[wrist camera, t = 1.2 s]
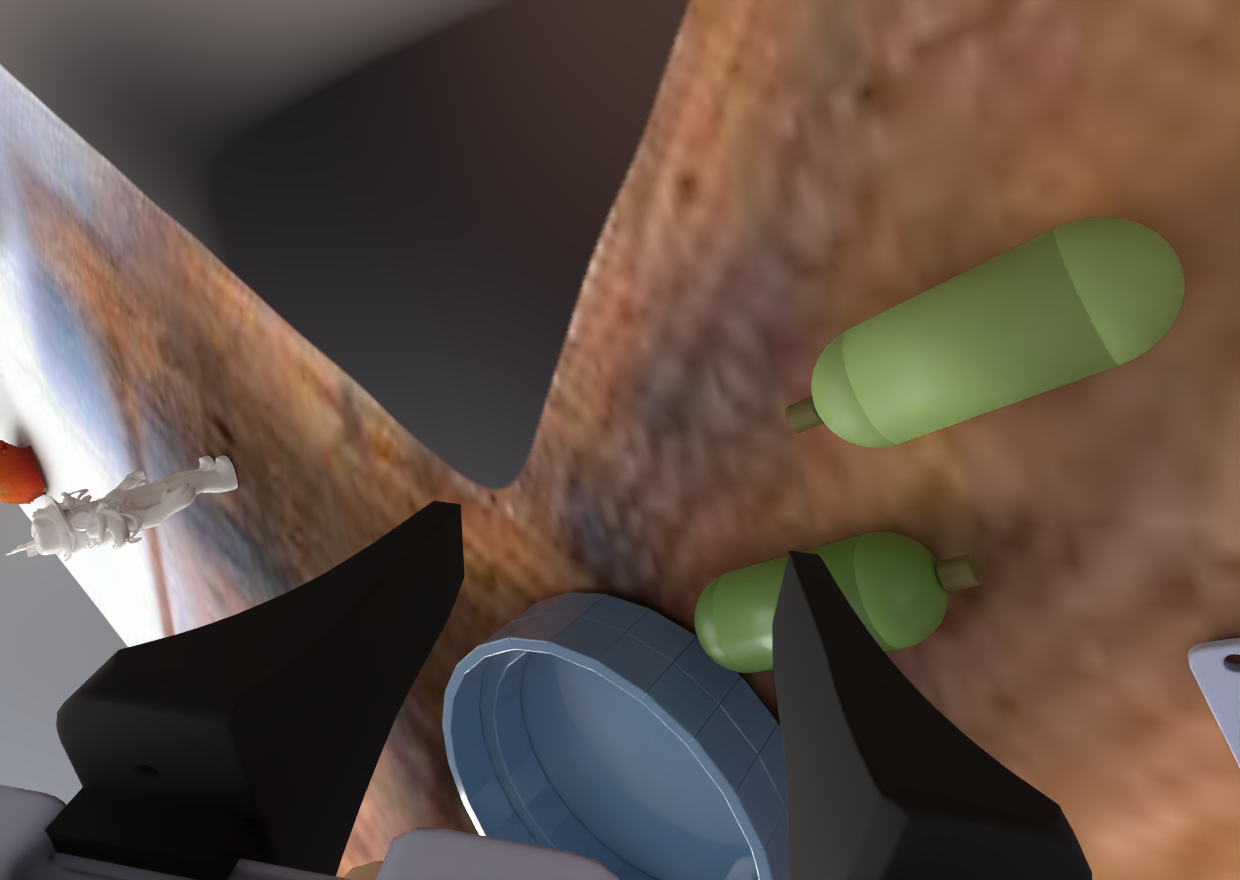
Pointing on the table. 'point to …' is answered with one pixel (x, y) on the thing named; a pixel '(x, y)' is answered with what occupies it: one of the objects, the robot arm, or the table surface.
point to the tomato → (19, 475)
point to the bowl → (618, 745)
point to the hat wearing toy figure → (122, 509)
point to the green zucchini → (869, 579)
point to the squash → (365, 871)
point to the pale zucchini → (998, 334)
